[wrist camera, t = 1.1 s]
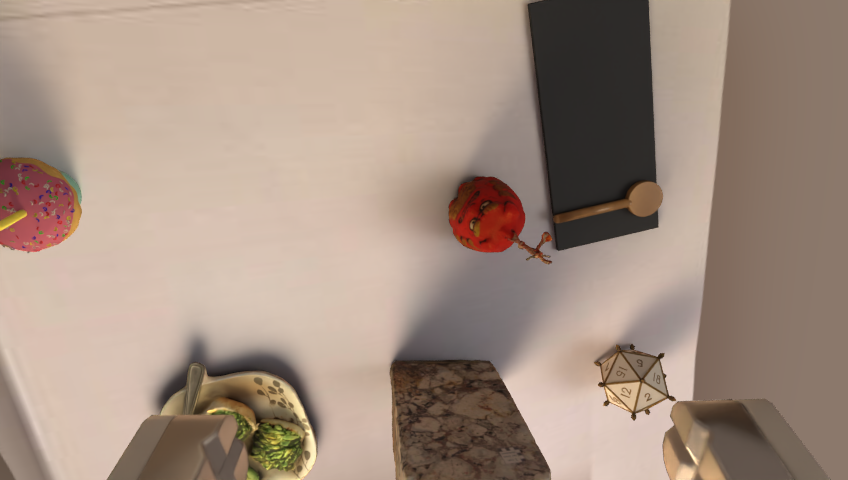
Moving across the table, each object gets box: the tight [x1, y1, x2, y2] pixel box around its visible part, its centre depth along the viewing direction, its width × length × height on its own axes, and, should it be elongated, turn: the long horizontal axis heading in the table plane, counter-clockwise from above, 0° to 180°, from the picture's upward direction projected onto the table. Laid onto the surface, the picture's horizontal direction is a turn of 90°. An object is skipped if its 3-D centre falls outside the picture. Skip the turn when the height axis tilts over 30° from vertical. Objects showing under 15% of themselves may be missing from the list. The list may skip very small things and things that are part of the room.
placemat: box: [528, 0, 658, 251], centre depth 52 cm, size 26×12×1 cm, turn 11°
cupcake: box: [0, 158, 82, 253], centre depth 43 cm, size 9×8×12 cm
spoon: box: [553, 180, 663, 223], centre depth 55 cm, size 12×4×1 cm, turn 101°
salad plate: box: [160, 362, 317, 480], centre depth 56 cm, size 19×18×5 cm
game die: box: [594, 344, 676, 420], centre depth 59 cm, size 9×8×10 cm
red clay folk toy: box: [448, 176, 552, 265], centre depth 47 cm, size 8×7×15 cm
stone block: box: [390, 360, 551, 480], centre depth 51 cm, size 13×7×20 cm, turn 90°
